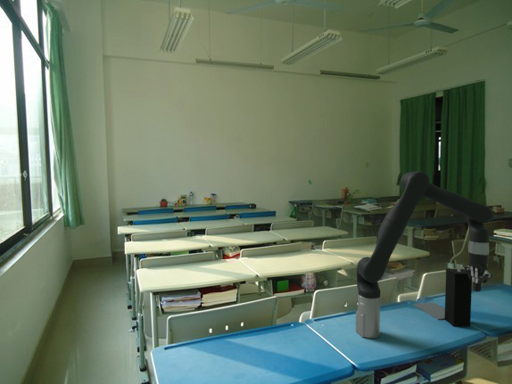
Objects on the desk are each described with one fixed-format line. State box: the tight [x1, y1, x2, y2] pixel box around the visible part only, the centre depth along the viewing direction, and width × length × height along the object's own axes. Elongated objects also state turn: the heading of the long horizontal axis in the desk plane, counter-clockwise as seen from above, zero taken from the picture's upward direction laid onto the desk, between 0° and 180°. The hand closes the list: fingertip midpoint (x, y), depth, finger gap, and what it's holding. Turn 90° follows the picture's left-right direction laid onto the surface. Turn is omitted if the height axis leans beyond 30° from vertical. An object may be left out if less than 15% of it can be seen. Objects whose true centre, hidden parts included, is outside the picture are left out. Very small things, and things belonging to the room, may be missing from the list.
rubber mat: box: [413, 301, 445, 321], centre depth 175 cm, size 12×18×1 cm, turn 12°
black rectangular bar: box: [444, 263, 473, 327], centre depth 160 cm, size 8×8×28 cm
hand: (476, 291), depth 150 cm, fingers closed
